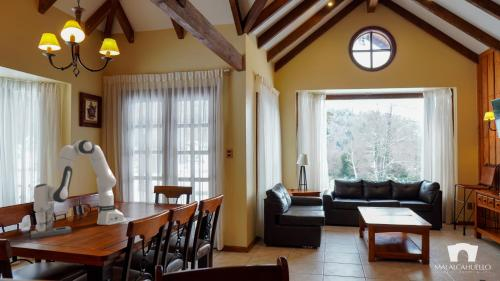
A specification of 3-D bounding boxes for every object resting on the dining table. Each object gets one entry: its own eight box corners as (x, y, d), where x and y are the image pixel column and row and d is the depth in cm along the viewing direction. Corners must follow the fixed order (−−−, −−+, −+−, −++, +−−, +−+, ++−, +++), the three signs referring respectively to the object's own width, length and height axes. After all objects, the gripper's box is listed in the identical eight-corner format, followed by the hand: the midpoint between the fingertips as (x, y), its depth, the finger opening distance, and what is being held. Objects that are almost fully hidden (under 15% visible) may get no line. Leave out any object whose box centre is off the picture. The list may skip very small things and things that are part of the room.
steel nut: (44, 234, 247) (44, 223, 247) (45, 235, 243) (45, 224, 243) (37, 235, 244) (37, 223, 244) (37, 236, 241) (37, 225, 241)
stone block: (49, 230, 257) (49, 203, 258) (38, 231, 256) (38, 204, 256) (54, 226, 270) (54, 200, 270) (44, 227, 269) (44, 201, 269)
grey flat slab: (69, 230, 258) (69, 225, 258) (71, 232, 250) (71, 228, 250) (30, 235, 244) (30, 230, 244) (31, 238, 236) (31, 233, 236)
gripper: (47, 209, 237) (48, 229, 237) (45, 205, 254) (45, 224, 254) (37, 210, 234) (37, 231, 233) (34, 206, 250) (35, 225, 250)
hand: (41, 227), depth 244 cm, fingers open, 6 cm apart
